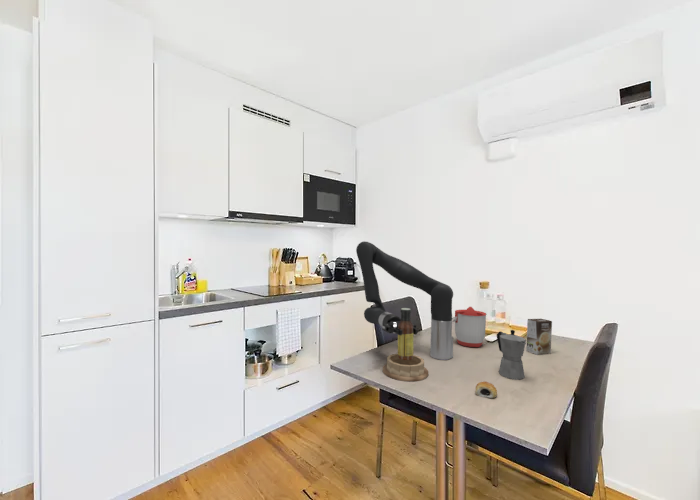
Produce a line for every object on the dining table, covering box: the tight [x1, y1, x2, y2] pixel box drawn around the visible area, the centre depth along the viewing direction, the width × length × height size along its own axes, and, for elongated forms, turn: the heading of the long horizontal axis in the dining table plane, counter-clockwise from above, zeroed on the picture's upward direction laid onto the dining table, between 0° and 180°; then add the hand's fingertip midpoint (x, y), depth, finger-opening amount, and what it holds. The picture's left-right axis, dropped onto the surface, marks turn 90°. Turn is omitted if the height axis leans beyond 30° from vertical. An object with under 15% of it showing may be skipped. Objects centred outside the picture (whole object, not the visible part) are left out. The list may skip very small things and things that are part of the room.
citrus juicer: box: [452, 306, 487, 348], centre depth 167 cm, size 16×17×20 cm
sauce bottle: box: [397, 307, 415, 360], centre depth 126 cm, size 6×6×20 cm
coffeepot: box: [496, 329, 527, 381], centre depth 127 cm, size 15×9×18 cm, turn 13°
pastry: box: [474, 380, 498, 399], centre depth 110 cm, size 9×7×4 cm
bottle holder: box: [382, 353, 429, 382], centre depth 126 cm, size 18×18×5 cm
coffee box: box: [525, 318, 553, 356], centre depth 156 cm, size 9×6×16 cm
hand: (408, 332), depth 124 cm, fingers closed on sauce bottle, 6 cm apart
